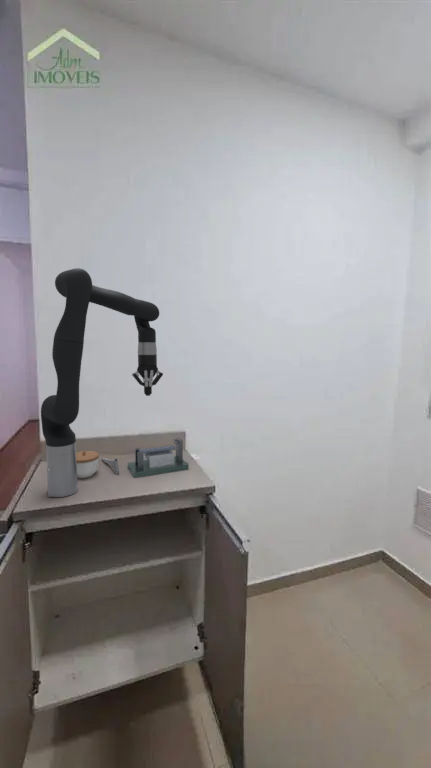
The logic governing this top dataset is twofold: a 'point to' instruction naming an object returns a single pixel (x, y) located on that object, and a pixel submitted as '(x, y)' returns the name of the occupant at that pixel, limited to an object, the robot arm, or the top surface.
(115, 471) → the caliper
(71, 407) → the robot arm
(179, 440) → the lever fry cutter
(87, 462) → the lidded jar
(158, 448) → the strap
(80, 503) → the top surface
